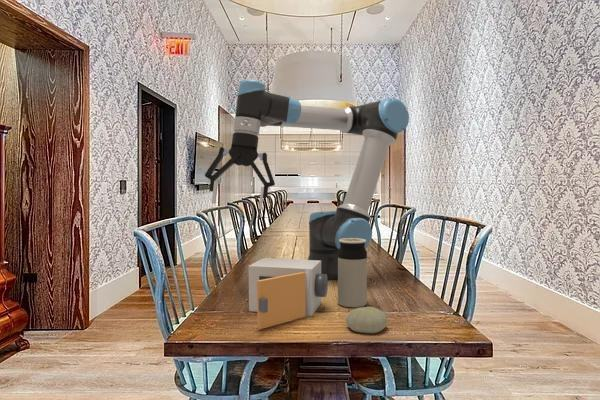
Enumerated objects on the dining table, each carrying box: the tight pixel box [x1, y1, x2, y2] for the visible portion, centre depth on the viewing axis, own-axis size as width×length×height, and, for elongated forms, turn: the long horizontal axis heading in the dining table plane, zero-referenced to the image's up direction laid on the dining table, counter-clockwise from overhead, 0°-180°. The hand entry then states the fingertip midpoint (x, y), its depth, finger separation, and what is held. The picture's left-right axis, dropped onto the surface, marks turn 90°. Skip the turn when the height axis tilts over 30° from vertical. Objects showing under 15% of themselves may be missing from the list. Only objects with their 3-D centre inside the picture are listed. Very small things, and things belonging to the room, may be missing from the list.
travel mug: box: [337, 238, 368, 309], centre depth 121 cm, size 8×8×18 cm
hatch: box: [256, 272, 306, 329], centre depth 104 cm, size 14×2×11 cm, turn 131°
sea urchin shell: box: [345, 306, 388, 334], centre depth 102 cm, size 9×8×8 cm
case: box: [248, 257, 329, 318], centre depth 118 cm, size 19×13×12 cm
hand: (236, 206), depth 127 cm, fingers open, 13 cm apart
